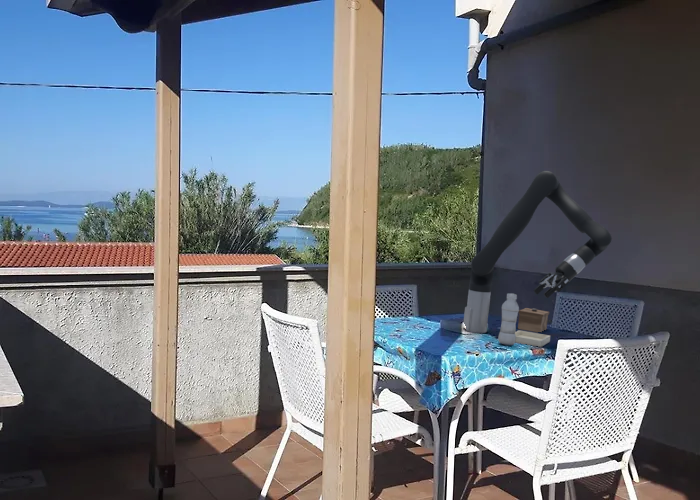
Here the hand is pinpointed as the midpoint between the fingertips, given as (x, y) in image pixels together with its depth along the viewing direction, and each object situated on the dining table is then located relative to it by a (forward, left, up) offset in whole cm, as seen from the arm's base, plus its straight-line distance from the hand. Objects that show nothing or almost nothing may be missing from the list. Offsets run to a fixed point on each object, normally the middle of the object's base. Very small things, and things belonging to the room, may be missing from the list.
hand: (540, 294), depth 264 cm
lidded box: (+17, +37, -21) cm, 46 cm away
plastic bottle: (-12, 0, -21) cm, 24 cm away
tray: (+2, +9, -21) cm, 23 cm away
